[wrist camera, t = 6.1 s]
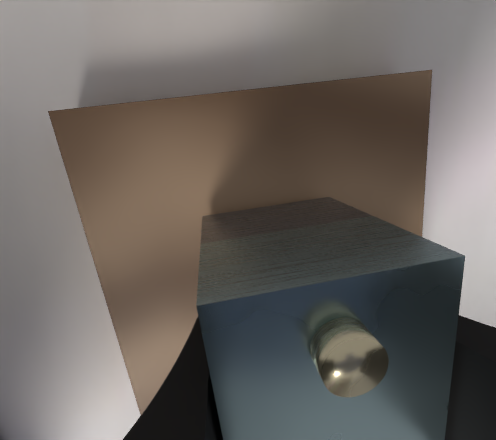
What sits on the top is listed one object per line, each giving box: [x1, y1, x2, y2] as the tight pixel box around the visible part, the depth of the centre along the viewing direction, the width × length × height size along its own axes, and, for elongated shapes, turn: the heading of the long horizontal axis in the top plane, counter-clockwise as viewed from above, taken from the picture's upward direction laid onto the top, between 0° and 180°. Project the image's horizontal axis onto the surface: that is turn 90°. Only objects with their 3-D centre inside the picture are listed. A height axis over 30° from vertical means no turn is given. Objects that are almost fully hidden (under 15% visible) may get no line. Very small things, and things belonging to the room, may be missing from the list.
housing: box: [196, 197, 465, 440], centre depth 9 cm, size 5×8×7 cm, turn 7°
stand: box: [48, 70, 432, 415], centre depth 13 cm, size 16×14×2 cm
